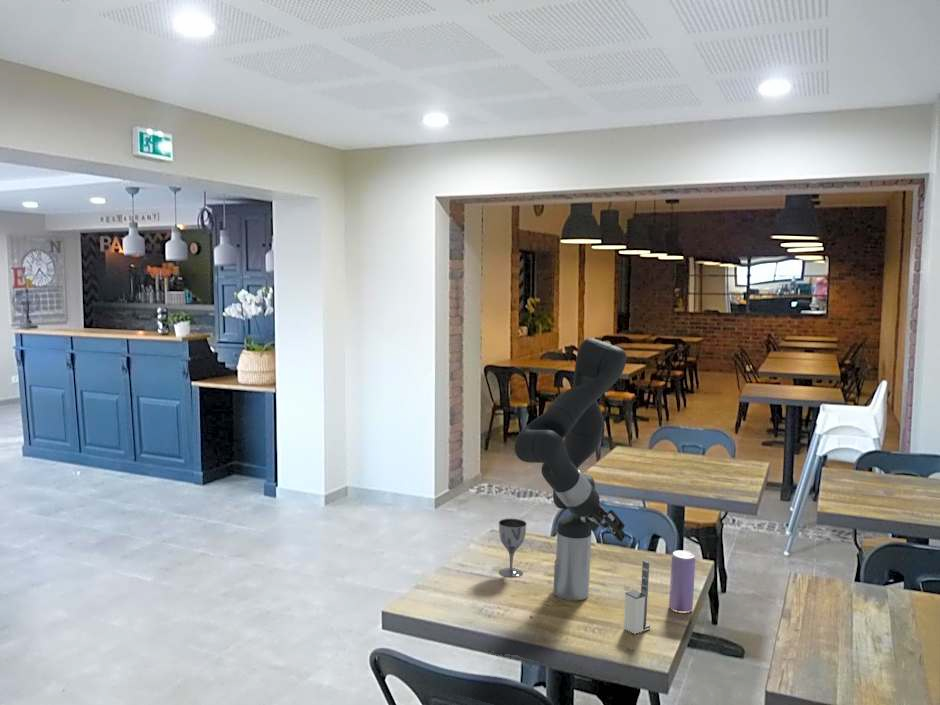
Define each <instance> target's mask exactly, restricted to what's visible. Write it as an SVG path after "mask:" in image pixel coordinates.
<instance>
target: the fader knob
mask: <svg viewBox="0 0 940 705" xmlns="http://www.w3.org/2000/svg"><path fill="white" fill-rule="evenodd" d="M624 593H625V598H624V599H625V601H624V603H625V604H624V619H623V621H624V622H623V629H624V630H625V629H626V630H625V631H627V630H628V631H627V632H629V631H630V632H629V633H631V632H632V633H634V634H635V635H637V634H636V633H638V634H640V633H642V632H641V631H643V623H644V605H645V595H644V594H642V593H641V591H638V590H636V589H632V590H630V591H626V592H624ZM639 632H640V633H639ZM643 632H644V631H643ZM632 633H631V634H632ZM634 634H633V635H634Z"/></svg>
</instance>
